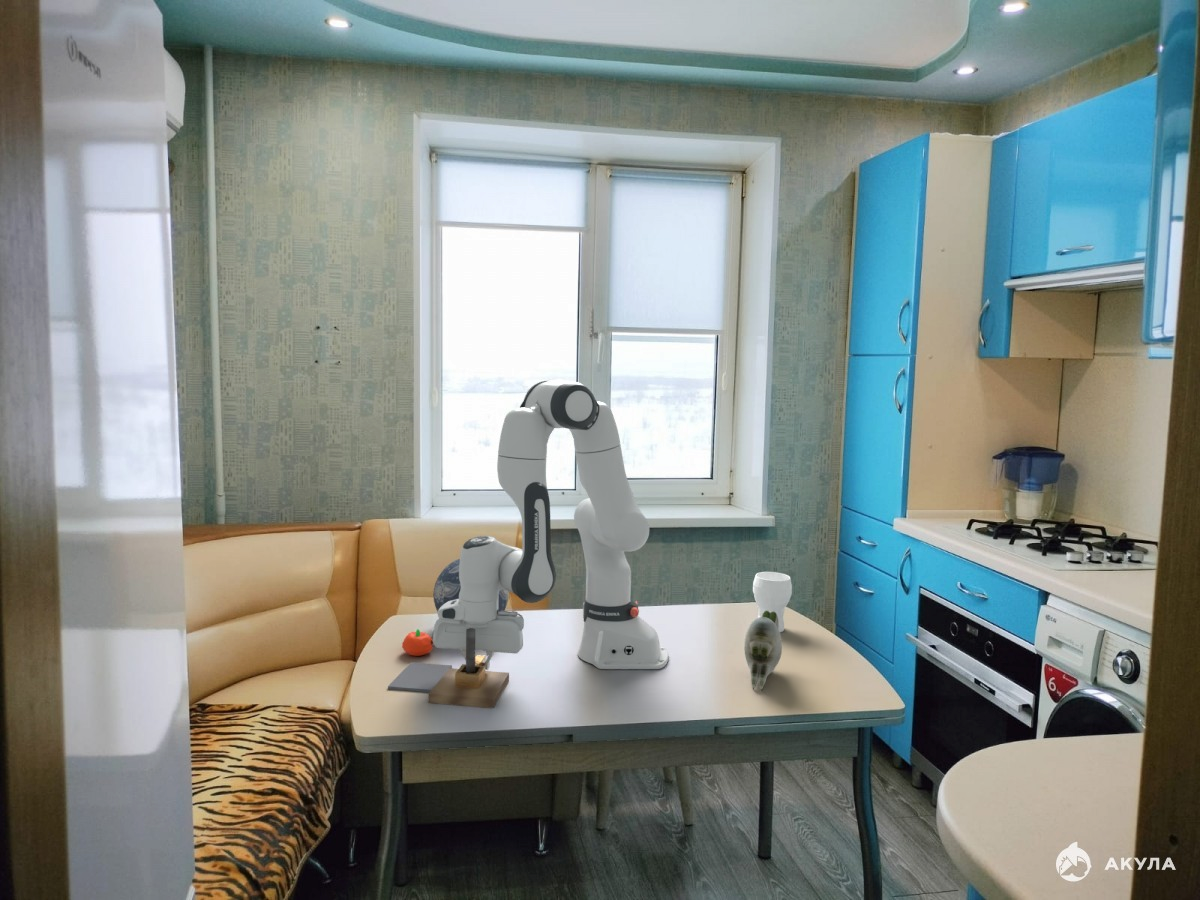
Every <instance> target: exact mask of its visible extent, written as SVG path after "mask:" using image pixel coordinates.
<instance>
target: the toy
mask: <svg viewBox="0 0 1200 900" xmlns="http://www.w3.org/2000/svg"><path fill="white" fill-rule="evenodd" d="M782 643H783V642H782V637H781V632H779V630H778V617H777V614H776V613H775V612H774V611H773V612H771V613H770V612H769V611H765V612H764V613H763V614H762V616H761V617H759V618H758V617H757V618H755V619H754V620H753V621H752V622H751V623H750V624H749V626H748V628H747V630H746V633H745V637H744V648H743V650H744V657H745V660H746V664H747V666H748V668H749V671H750V682H751V683H750V684H751V686H752V690H755V688H756V685H757V683H758V684H759V688H760V692H762V691H763V688H764V687H765V684H766V680H767V678H768V677H769V675H771V674H772V672H773V671H774V670H775V669H776V667H778V666H777V665H778V664H779V662H780V660H781V657H782V647H783V644H782Z"/></svg>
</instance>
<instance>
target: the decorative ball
mask: <svg viewBox="0 0 1200 900" xmlns="http://www.w3.org/2000/svg"><path fill="white" fill-rule="evenodd" d="M459 564H460V558H458V559H456V560H454V561H452V562H450V563H449V564H448V565H447V566H445V567H444V569H443V570H442V571H441V572H440V574H439V575H438V577H437V579H436V581H435V583H434V587H433V603H434V607H435V609H436V611H437V613H438V610H439V608H440V607H441V606H442V605H444V604H445V603H446V602H448V601H451V600H456V599H459V593H460V589H461V583H460V580H459ZM509 595H510V591H508V590H507V589H503V590H500V591H499V601H498V610H503V611H506V608H507V605H508V602H509Z"/></svg>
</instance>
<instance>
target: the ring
mask: <svg viewBox="0 0 1200 900" xmlns="http://www.w3.org/2000/svg"><path fill="white" fill-rule="evenodd" d="M483 660H486V655H485V654H483V655H482V654H476V655H475V673H466V663H465V664H464V663H463V664H461V665H460V666H459V668H457V669H458V671H457V672H456V673H455V687H465V688H477V689H479V687H480V686H481V684H482V683H483V681H484V680H485V671H486V670H485V666H481V662H482V661H483Z"/></svg>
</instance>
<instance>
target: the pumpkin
mask: <svg viewBox="0 0 1200 900" xmlns="http://www.w3.org/2000/svg"><path fill="white" fill-rule="evenodd" d="M403 639H404V640H403V641H402V644H401V648H402V649H403V651H404V652H405V653H407V654H408V655H410V656H414V657H417V656H418V657H420V656H424V655H427V654H429V653H431V651H432V650H433V648H434V644H433V637H431V635H429V634H428V633H426V632H423V631H420V629H419V628H417V629H416V631H412V632H411V631H410V632H409V633H407V634H406V636H405V637H404V638H403Z"/></svg>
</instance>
